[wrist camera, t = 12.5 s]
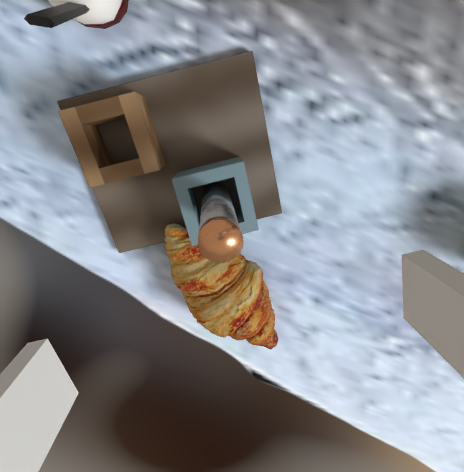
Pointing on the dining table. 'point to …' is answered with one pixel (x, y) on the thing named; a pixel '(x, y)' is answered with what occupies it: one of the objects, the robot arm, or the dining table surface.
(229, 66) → the board
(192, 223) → the socket
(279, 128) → the dining table surface
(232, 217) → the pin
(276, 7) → the dining table surface
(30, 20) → the cocoa
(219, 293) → the croissant
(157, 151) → the mount
